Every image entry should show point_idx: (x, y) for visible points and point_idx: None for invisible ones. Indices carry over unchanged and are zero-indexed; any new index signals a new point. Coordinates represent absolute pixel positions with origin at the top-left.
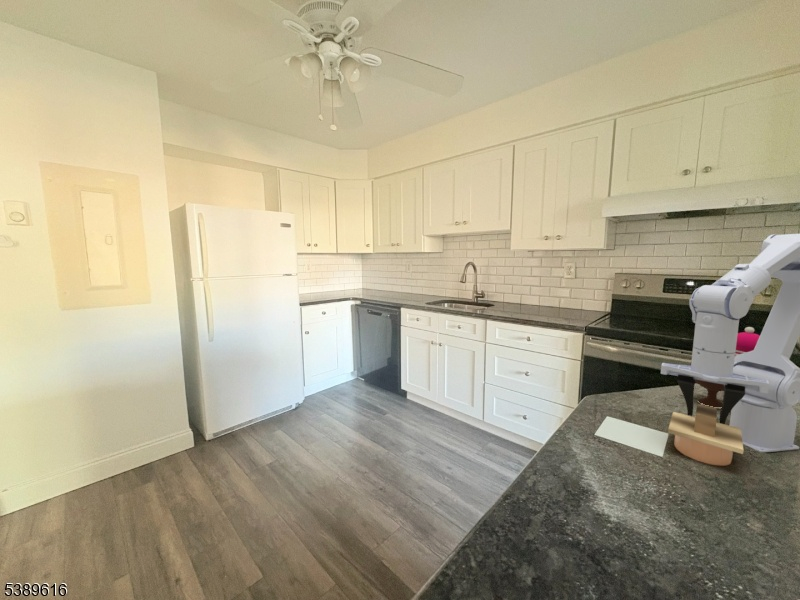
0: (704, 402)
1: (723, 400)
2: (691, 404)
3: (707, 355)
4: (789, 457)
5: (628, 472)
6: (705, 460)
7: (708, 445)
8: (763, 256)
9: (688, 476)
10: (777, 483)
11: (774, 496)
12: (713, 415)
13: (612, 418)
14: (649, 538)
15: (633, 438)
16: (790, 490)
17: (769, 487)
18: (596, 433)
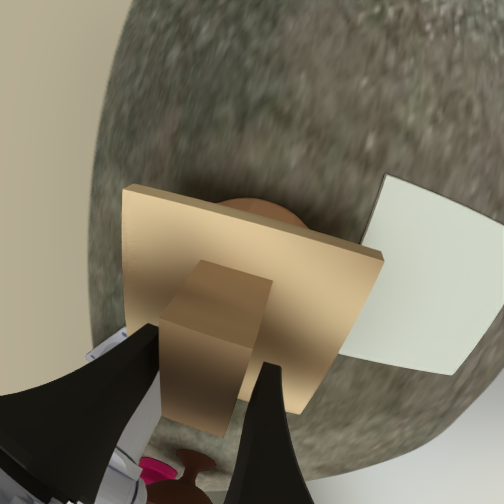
0: (204, 462)
1: (109, 429)
2: (261, 414)
3: None
4: (94, 324)
5: (486, 44)
6: (252, 200)
7: None
8: None
9: (325, 86)
10: (111, 190)
11: (127, 112)
12: (171, 353)
13: (444, 369)
14: None
15: (440, 272)
16: (96, 170)
17: (127, 155)
18: None
